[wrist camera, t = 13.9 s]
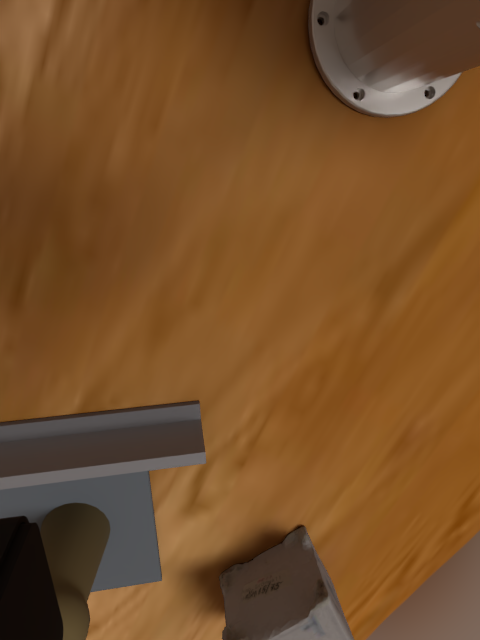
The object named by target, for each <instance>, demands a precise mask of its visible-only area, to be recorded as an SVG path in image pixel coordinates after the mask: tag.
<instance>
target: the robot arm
mask: <svg viewBox="0 0 480 640" xmlns="http://www.w3.org/2000/svg"><path fill="white" fill-rule="evenodd" d="M317 19H321V21H322V26H321V25H319V24H318V22H317ZM308 30H309V39H310V47H311V50H312V54H313V57H314V61H315V64H316V66H317V68H318V70H319V72H320V74H321V76H322V78H323V80H324V82H325V83H326V84H327V86H328V87H329V88H330V90H331V91H332V92H333V94H334V95H335V96H337V97H338V98H339V99H340V100H341V101H342V102H343V103H344V104H346V105H347V106H349V107H351V108H353V109H354V110H356V111H358V112H360V113H363V114H367V115H370V116H373V117H385V118H390V117H397V116H403V115H407V114H410V113H414V112H417V111H419V110H421V109H423V108H425V107H427V106H429V105H431V104H432V103H433V102H435V101H436V100H437V99H439V98H440V97H442V96H443V95H444V94H445V93H446V92H447V91H448V90H449V89H450V88H451V87H452V85H453V84H454V83H455V82H456V81H457V79H458V78H459V76H460V75H461V73H462V72H464V71H466V70H469V69H472V68H475V67H478V66H480V0H311V1H310V6H309V20H308ZM424 92H426V97H425V94H424ZM353 93H356V94H357V99H356V100H355V99H354V96H353ZM0 640H63V620H62V616H61V612H60V608H59V605H58V601H57V597H56V593H55V589H54V585H53V581H52V577H51V573H50V569H49V565H48V561H47V557H46V554H45V550H44V546H43V542H42V538H41V534H40V530H39V527H38V524H37V523H35V522H34V523H29V521H28V518H27V517H26V516H17V517H9V518H1V519H0Z"/></svg>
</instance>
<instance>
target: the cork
mask: <svg viewBox="0 0 480 640" xmlns="http://www.w3.org/2000/svg"><path fill="white" fill-rule="evenodd" d="M110 530H111V529H110V524H109V520H108V519H107V517H106V516H105V514H104V513H103V512H102V511H100V510H99V509H98V508H97V507H94V506H91V505H89V504H85V503H76V502H75V503H69V504H64V505H61V506H59V507H57V508H55V509H53V510H52V511H51V512H50V513H49V514H47V515H46V517H45V519H44V520H43V522H42V525H41V531H40V534H41V538H42V542H43V546H44V550H45V554H46V557H47V561H48V565H49V569H50V573H51V577H52V581H53V585H54V589H55V593H56V597H57V601H58V605H59V608H60V612H61V616H62V620H63V640H85V639H86V637H87V633H88V628H89V623H90V615H89V609H88V604H87V600H88V597H89V594H90V591H91V588H92V585H93V583H94V580H95V577H96V574H97V571H98V568H99V565H100V562H101V559H102V556H103V554H104V551H105V548H106V545H107V542H108V539H109V535H110Z"/></svg>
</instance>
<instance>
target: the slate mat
mask: <svg viewBox="0 0 480 640" xmlns="http://www.w3.org/2000/svg"><path fill="white" fill-rule="evenodd" d="M75 502H76V503H85V504H89V505H91V506H94V507H97V508H98V509H99V510H100V511H102V512H103V513H104V514H105V516H106V517H107V519H108V520H109V524H110V529H111V530H110V535H109V539H108V542H107V545H106V548H105V551H104V554H103V556H102V559H101V562H100V565H99V568H98V571H97V574H96V577H95V580H94V583H93V585H92V588H91V591H90V592H94V591H101V590H107V589H113V588H119V587H126V586H132V585H138V584H144V583H151V582H157V581H162V574H161V566H160V558H159V549H158V541H157V533H156V525H155V517H154V509H153V501H152V493H151V485H150V477H149V471H142V472H134V473H127V474H119V475H111V476H103V477H95V478H88V479H80V480H72V481H64V482H57V483H49V484H41V485H33V486H26V487H18V488H10V489H2V490H0V519H1V518H9V517H17V516H26V517H27V518H28V521H29V523H34V522H35V523H37V524H38V527H39V530H40V531H41V525H42V522H43V520H44V519H45V517H46V515H47V514H49V513H50V512H51V511H52V510H53V509H55V508H57V507H59V506H61V505H64V504H69V503H75Z"/></svg>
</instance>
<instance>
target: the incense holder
mask: <svg viewBox="0 0 480 640" xmlns="http://www.w3.org/2000/svg"><path fill="white" fill-rule="evenodd" d="M219 580H220V587H221V589H222V593H223V596H224V605H225V620H226V627H225V628H224V630H223V632H222V639H223V640H354V638H353V636H352V634H351V631H350V628H349V626H348V623H347V621H346V619H345V616H344V613H343V611H342V608H341V605H340V603H339V600H338V597H337V594H336V591H335V588H334V585H333V583H332V581H331V578H330V577H329V575H328V573H327V570H326V569H325V567H324V565H323V564H322V562H321V560H320V558H319V556H318V554H317V553H316V550H315V548H314V546H313V544H312V542H311V540H310V537H309V535H308V533H307V530H306V527H305V526H303V527H301V528H299V529H297V530H295V531H293V532H292V533H290V534H289V535H288V536H287V537H286V538H285V540H284V541H283V543H282V544H279V545H277V546H275V547H273V548H271V549H268V550H267V551H265V552H263V553H262V554H260V555H258V556H257V557H255V558H254V559H253V560H251V561H250V562H248V563H246V562H245V563H244V564H236V565H233V566H232V567H230V568H229V569H227V570H225V571H224V572H223V573H222V574H221V575H220V576H219Z"/></svg>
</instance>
